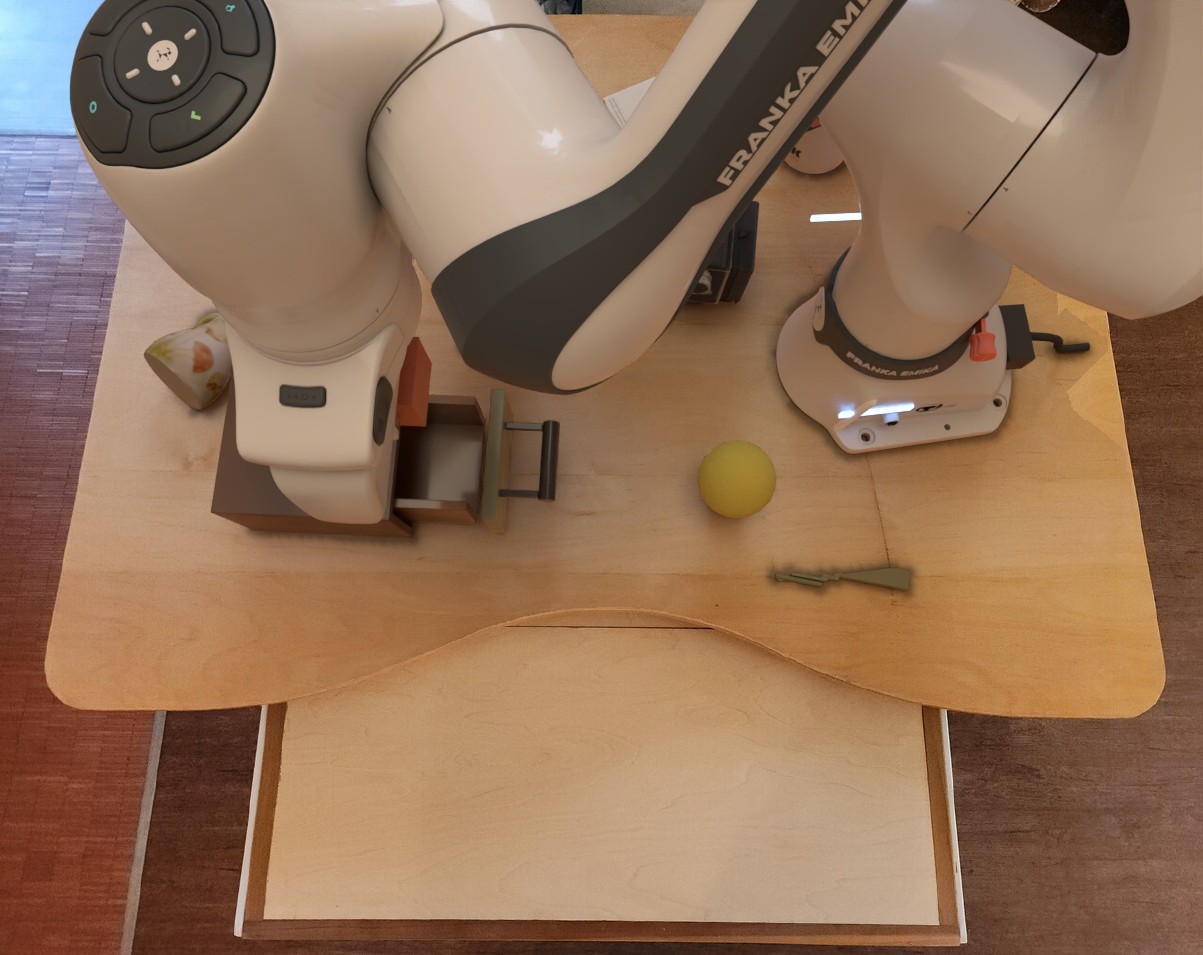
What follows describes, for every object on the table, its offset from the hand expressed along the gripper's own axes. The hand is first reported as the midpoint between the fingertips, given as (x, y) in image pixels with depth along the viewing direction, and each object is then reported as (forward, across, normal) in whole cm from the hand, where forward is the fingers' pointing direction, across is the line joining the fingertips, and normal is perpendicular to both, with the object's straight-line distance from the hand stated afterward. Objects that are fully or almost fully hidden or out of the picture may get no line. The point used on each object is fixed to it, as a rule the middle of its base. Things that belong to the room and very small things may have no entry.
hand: (391, 387), depth 54 cm
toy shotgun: (+24, +8, +36) cm, 44 cm away
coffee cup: (+24, -37, +34) cm, 56 cm away
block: (+1, 0, 0) cm, 1 cm away
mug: (+24, -10, -23) cm, 35 cm away
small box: (+24, -36, +18) cm, 47 cm away
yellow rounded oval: (+24, +1, +26) cm, 35 cm away
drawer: (+23, 0, +1) cm, 23 cm away
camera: (+24, -21, +20) cm, 38 cm away
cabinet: (+24, 0, -10) cm, 26 cm away
